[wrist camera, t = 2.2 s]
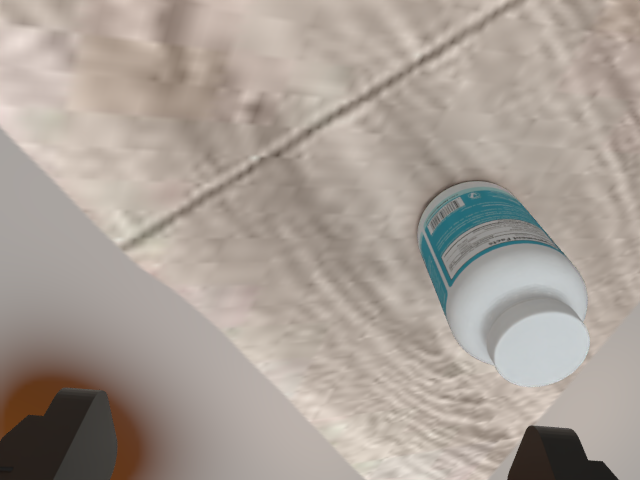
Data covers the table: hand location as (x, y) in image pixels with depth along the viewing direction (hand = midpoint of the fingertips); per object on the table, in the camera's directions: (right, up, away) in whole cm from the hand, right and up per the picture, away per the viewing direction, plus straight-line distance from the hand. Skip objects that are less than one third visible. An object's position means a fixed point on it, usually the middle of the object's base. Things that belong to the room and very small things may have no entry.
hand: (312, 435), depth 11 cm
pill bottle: (+11, +5, +28) cm, 30 cm away
